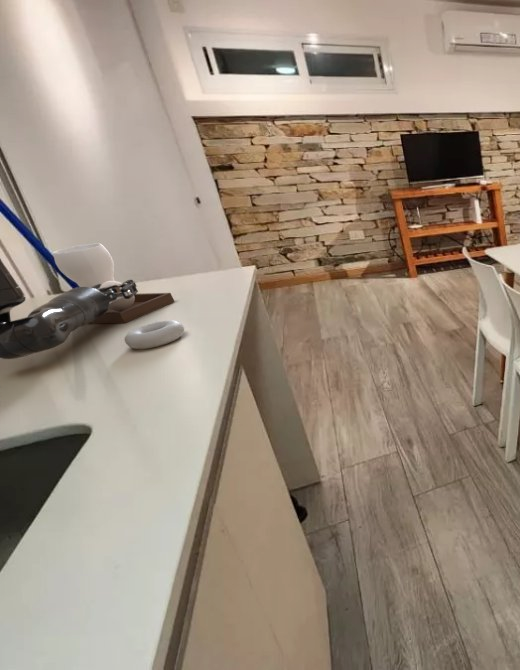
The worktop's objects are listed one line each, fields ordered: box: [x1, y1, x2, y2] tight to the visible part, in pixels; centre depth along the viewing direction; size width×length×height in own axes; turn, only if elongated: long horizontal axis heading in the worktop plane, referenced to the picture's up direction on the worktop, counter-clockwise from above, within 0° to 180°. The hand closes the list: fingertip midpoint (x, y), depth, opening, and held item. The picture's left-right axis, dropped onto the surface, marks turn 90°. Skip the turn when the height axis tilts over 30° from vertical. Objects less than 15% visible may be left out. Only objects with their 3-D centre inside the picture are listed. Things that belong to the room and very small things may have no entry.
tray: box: [87, 292, 176, 325], centre depth 122 cm, size 16×14×3 cm
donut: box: [124, 319, 185, 350], centre depth 103 cm, size 10×3×10 cm
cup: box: [52, 242, 116, 288], centre depth 129 cm, size 11×11×15 cm
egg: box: [100, 280, 135, 311], centre depth 121 cm, size 6×6×8 cm
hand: (116, 285), depth 122 cm, fingers closed on egg, 6 cm apart
